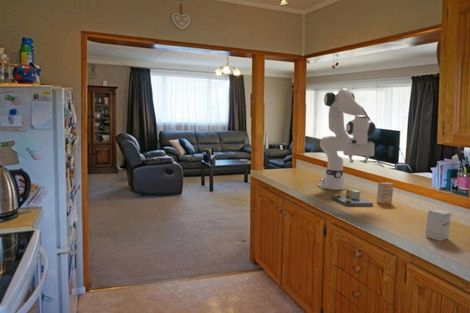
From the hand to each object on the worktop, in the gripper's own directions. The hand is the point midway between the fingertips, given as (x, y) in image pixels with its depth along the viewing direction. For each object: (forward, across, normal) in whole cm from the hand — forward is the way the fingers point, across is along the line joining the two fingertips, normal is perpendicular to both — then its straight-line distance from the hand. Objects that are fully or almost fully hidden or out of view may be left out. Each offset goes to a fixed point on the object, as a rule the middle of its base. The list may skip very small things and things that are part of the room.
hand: (358, 162), depth 247 cm
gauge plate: (+25, +4, +1) cm, 25 cm away
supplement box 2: (+28, -1, +71) cm, 76 cm away
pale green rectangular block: (+23, +1, 0) cm, 23 cm away
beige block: (+23, +1, -6) cm, 24 cm away
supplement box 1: (+25, -18, +3) cm, 31 cm away
